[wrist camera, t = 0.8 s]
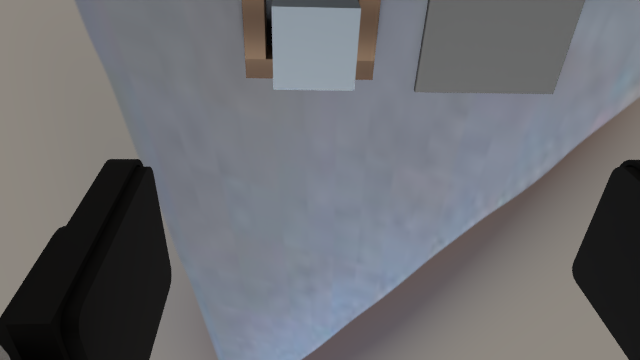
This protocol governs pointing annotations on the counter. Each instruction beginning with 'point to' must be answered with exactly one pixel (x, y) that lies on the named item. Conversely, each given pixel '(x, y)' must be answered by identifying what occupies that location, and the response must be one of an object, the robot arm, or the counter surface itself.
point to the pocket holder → (262, 54)
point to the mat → (495, 45)
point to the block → (315, 44)
